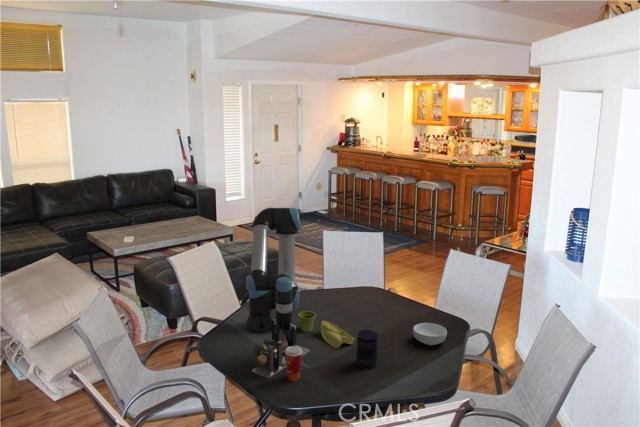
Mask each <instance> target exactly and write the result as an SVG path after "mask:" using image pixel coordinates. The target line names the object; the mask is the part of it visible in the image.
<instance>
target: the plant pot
mask: <svg viewBox="0 0 640 427" xmlns="http://www.w3.org/2000/svg"><path fill="white" fill-rule="evenodd" d="M297 315H298V319H299V323H300V330H301V332H303V333H304V332H305V333H308V332H312V331H313V328H314V322H315V319H316V316H317V314H316V312H314V311H310V310H304V311H301V312H298V314H297Z"/></svg>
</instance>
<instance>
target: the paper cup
mask: <svg viewBox="0 0 640 427" xmlns="http://www.w3.org/2000/svg"><path fill="white" fill-rule="evenodd" d="M298 346H299V345H298ZM298 346H289V347H287V348H286V350H285V354H286V367H285V368H286V378H287V380H288V381H290V382H297V381H300V378H301V367H302V366H301V365H302V357H301V355H302V349H301V348H300V347H298Z"/></svg>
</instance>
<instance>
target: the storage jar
mask: <svg viewBox="0 0 640 427" xmlns="http://www.w3.org/2000/svg"><path fill="white" fill-rule="evenodd" d="M356 335H357V339H356V346H357V348H356V349H357V352H356V358H355V359H356V366H357V367H358V368H361V369H363V370H365V369H366V370H373V369H375V368H376V367H377V366H378V346H379V333H378V332H376V331H374V330H370V329H363V330H360V331H358V332H357V334H356Z"/></svg>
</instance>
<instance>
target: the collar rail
mask: <svg viewBox="0 0 640 427" xmlns="http://www.w3.org/2000/svg"><path fill="white" fill-rule="evenodd" d="M269 346H271V347H272V348H273V347H277V357H275V358H274V359H273V349H272V348H271V347H269ZM294 346H298V347H300V348H301V349H302V355H301V358H302V357H303V356H305V355H306V354H307V353H309V352H310V351H311V349H309V348H306V347H303V346H302V345H301V346H300V345H297V344H296V345H294ZM254 351H255V352H254V354H255V355H254V356H255V366H254V368H253V369H251V373H253V374H257V375H258V376H262V377H264V378H267V379H270V378H271V377H273V376H275V375H277V374H278V373H279V372H281V371H282V370H284V369H286V368H287V367H286V354H285V352H283V353H282V344H280V343H277V342H275V341H274V340H272V339H268V338H266V339H264V340H263V344H260V343H256V344H255V346H254ZM261 351H263V353H265V352H268V363H266V364H264V365H262V366H260V365H258V363H257V361H256V358H257V357H258V356H260V355H261Z"/></svg>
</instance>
